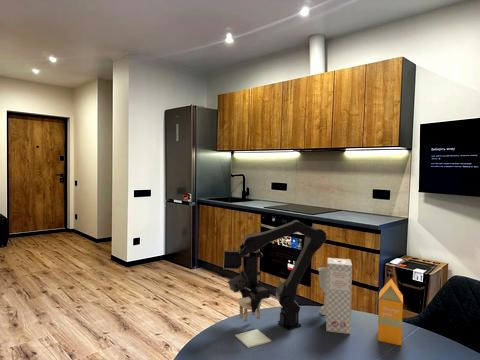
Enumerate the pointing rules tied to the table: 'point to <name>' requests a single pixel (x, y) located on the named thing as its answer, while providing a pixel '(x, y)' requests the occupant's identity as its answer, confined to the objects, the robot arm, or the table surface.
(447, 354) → the table surface
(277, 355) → the table surface
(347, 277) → the box
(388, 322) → the orange juice
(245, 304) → the tan block with pegs
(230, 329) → the table surface
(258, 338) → the mat
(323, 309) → the chalice
